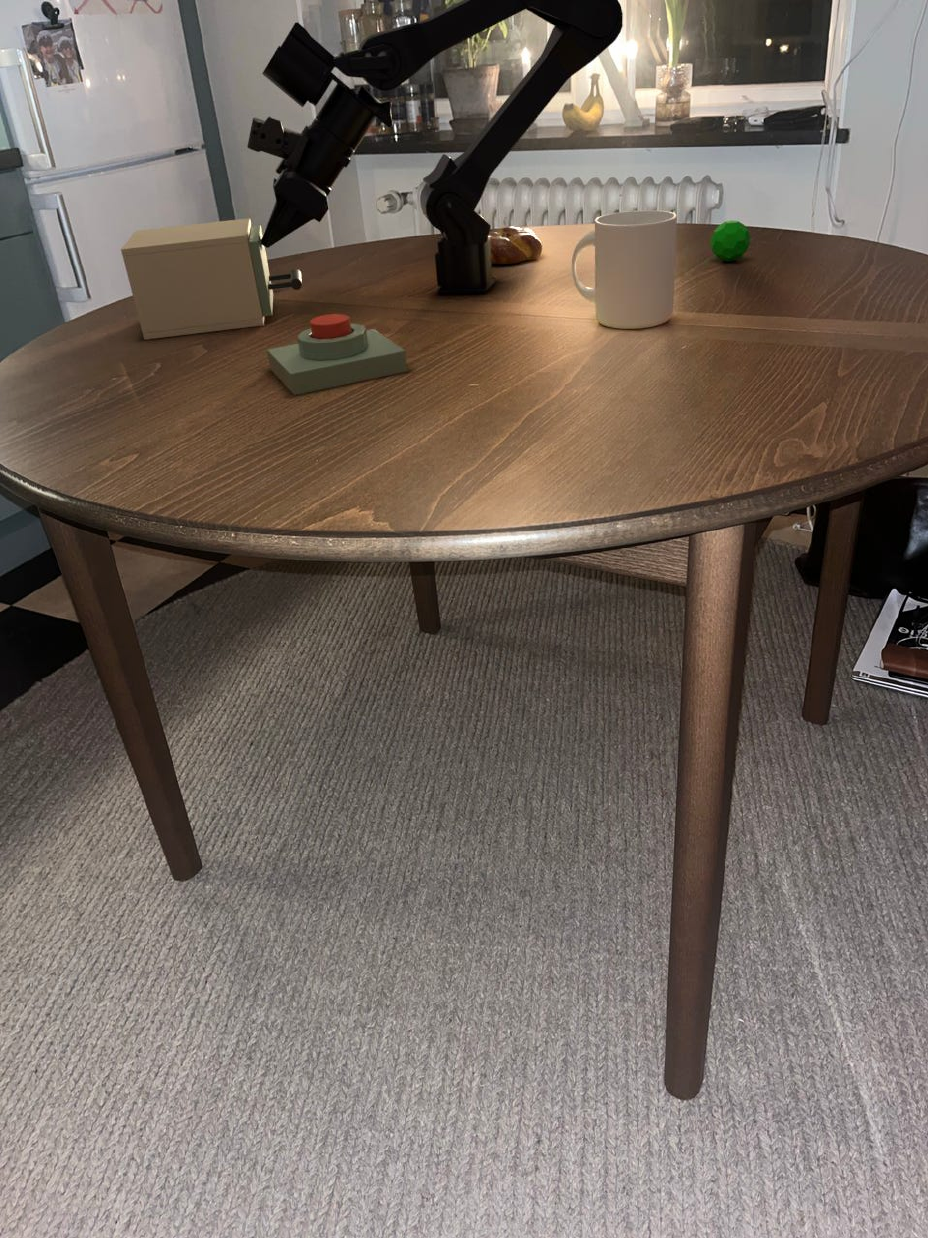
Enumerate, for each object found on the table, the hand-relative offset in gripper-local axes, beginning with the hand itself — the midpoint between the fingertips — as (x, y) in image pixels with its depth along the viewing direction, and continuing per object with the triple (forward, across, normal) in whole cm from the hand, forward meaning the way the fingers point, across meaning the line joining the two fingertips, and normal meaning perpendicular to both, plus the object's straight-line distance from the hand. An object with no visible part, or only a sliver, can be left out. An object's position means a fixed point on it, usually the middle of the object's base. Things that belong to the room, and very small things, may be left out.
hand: (263, 245), depth 118 cm
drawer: (+9, 0, +1) cm, 9 cm away
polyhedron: (-36, +2, +50) cm, 61 cm away
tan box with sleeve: (+12, 0, -1) cm, 12 cm away
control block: (+1, +29, +10) cm, 31 cm away
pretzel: (-17, -16, +30) cm, 38 cm away
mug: (-21, +23, +34) cm, 46 cm away
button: (-1, +29, +8) cm, 30 cm away
